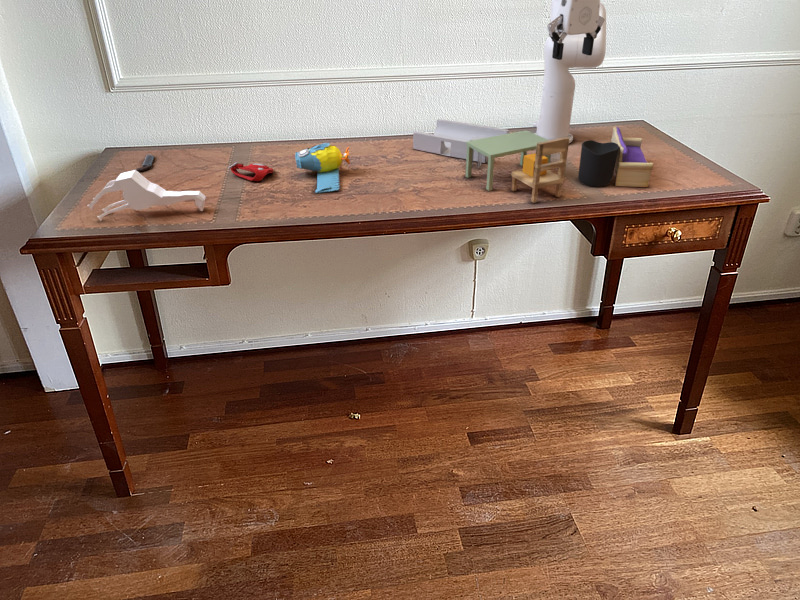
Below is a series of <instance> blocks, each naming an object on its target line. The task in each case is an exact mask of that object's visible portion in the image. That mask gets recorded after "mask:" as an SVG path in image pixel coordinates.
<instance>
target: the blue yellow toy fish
mask: <svg viewBox="0 0 800 600" xmlns="http://www.w3.org/2000/svg"><path fill="white" fill-rule="evenodd" d="M349 149H350V146H347V147H346V149H345V151H344V153H342V152H341V150H340V148H339V147H337V146H336V145H331V144H330V143H329V142H323V143H320V144H314V145H313V146H311V147H306V148H303V149H301V150H300V151H295V152H294V153H295V155H294V157H295V164H296V168H297V169H300V170H306V171H311V172H316V175H317V176H316V189H315V194H323V193H330V192H336V191H339V190H340V187H341V186H340V185H341V183H340V168H339V167H341V166H342V164H343V160H344V161H345V162H346V163H347V164H348V165H351V161H350V150H349Z"/></svg>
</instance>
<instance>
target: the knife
mask: <svg viewBox="0 0 800 600" xmlns="http://www.w3.org/2000/svg"><path fill="white" fill-rule="evenodd" d="M154 159H155V155H152V154H149V153H147V154H146V156H145V158H144V160H143V162H142V166H141V167H138V168H137V167H136V169H135V170H137V171H138V172H139V173H140V172H144V171H145V172H146V171H147V170H150V168H151V167H152V166H153V162H154Z"/></svg>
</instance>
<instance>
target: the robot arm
mask: <svg viewBox="0 0 800 600" xmlns="http://www.w3.org/2000/svg"><path fill="white" fill-rule="evenodd" d="M550 2H551V3H550V22H549V23H548V24H547V26H546V28H547V31H548V37H547V38H546V40H545V42H544V46H543V47H544V48H543V56H544V57H543V59H544V63H543V64H544V65H543V66H544V67H543V68H544V71H543V74H544V75H543V84H542V93H541V102H540V110H539V111H540V112H539V119H537V120H536V122H534V123H532V126H533V127H534V128H536V131H535V132H533V133H534V134H536V135H538V136H541V137H543V138H545V139H547V140H554V139H559V138H564V137H568V138H570V139H569V144H570V143H572V142H573V140H574V135H573V134H572V133H570V127H571V119H572V113H573V104H574V97H575V92H576V91H575V90H576V80H575V78H574V75H572V73H571V72H570V70H569V69H574V68H575V69H595V68H598V67H600V66H602V64H603V62H604V60H605V56H606V51H607V50H606V47H607V11H606V7H605V5H604V4H603V3H602V2H601V0H550Z"/></svg>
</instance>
